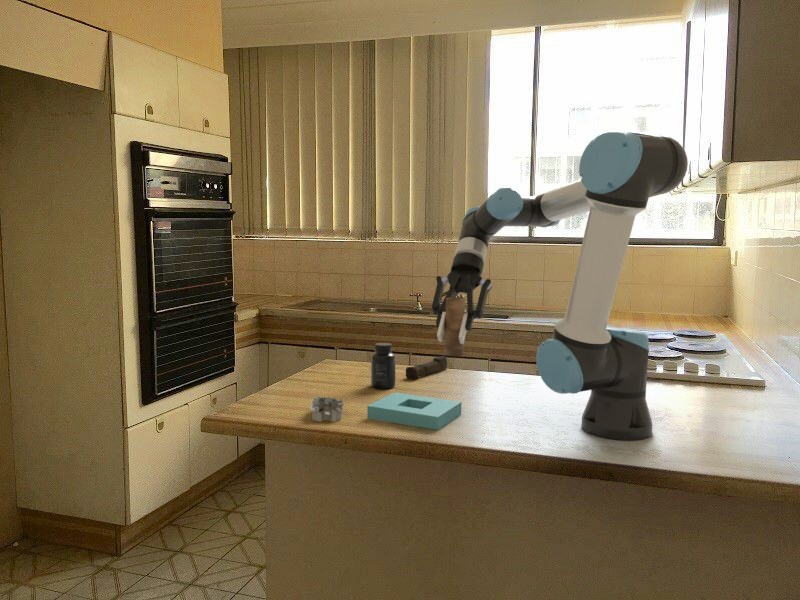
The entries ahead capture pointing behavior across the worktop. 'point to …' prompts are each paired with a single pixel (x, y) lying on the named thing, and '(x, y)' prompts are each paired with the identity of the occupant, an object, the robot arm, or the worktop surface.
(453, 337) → the walnut pin
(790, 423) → the worktop surface
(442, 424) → the teal square-hole block
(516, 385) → the worktop surface
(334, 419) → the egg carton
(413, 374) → the dark brown wooden rod
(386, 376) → the supplement bottle
